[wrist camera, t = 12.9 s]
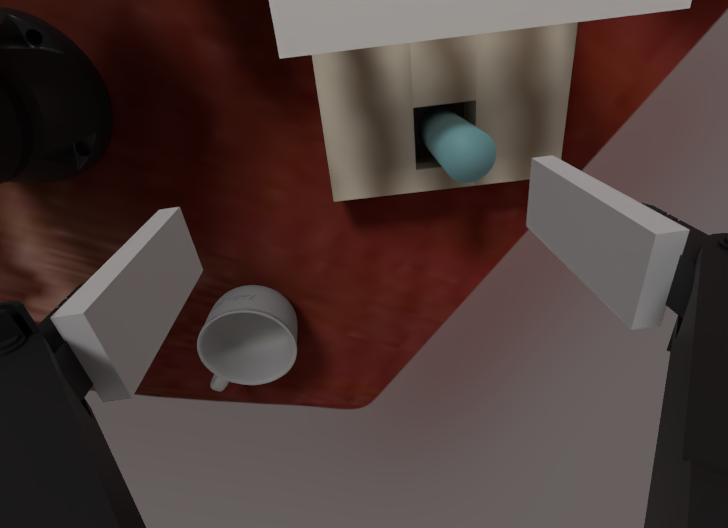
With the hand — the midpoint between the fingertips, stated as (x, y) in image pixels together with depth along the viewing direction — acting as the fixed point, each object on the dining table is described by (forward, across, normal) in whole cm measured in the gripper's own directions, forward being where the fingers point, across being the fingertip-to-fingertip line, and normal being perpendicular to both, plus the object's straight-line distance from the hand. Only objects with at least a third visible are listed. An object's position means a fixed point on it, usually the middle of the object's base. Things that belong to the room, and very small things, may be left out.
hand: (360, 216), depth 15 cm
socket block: (+28, +9, +2) cm, 30 cm away
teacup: (+29, -15, -24) cm, 41 cm away
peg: (+28, +9, -3) cm, 29 cm away
